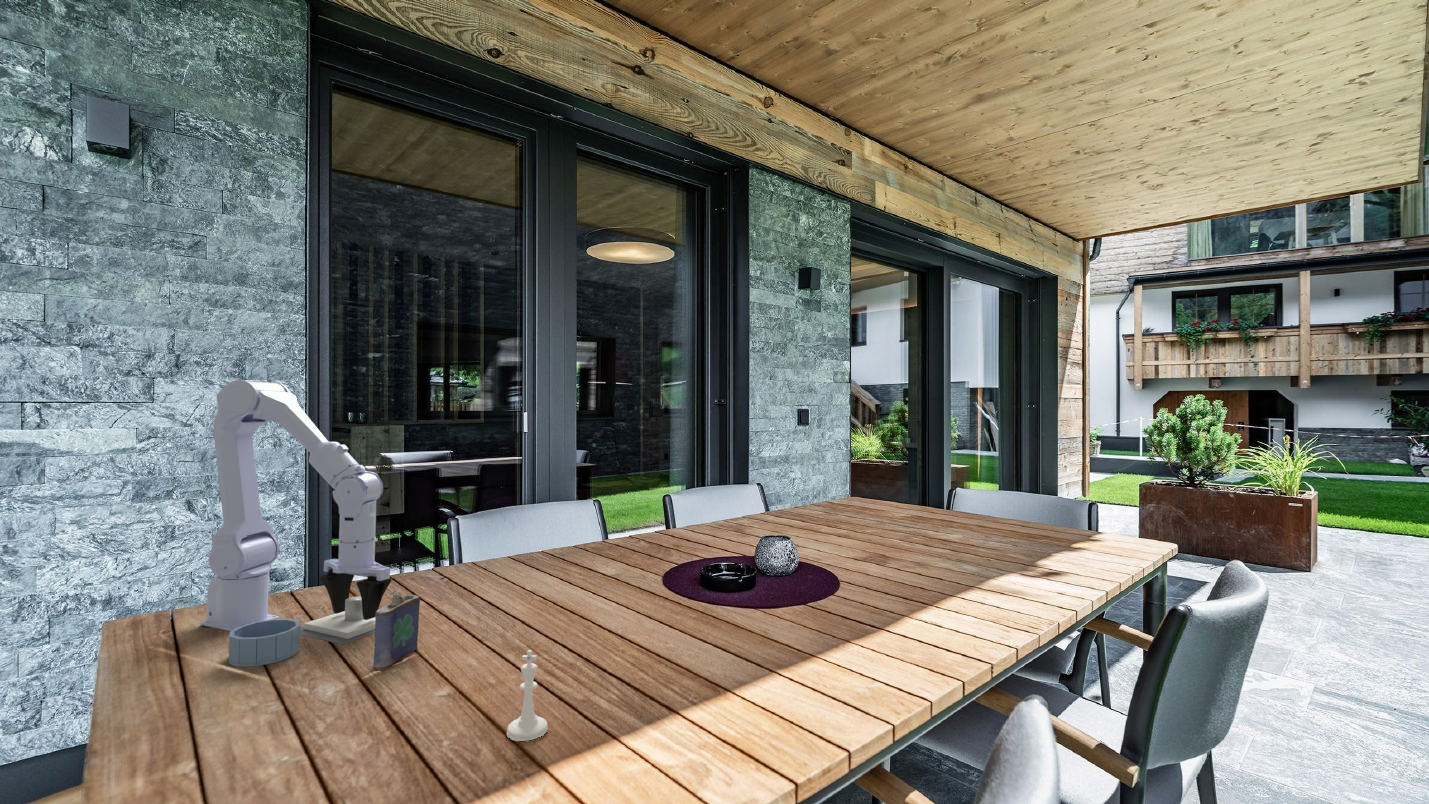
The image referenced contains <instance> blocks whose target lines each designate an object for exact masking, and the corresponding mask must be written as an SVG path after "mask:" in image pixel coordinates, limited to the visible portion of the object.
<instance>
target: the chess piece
mask: <svg viewBox="0 0 1429 804" xmlns="http://www.w3.org/2000/svg"><path fill="white" fill-rule="evenodd" d="M532 652H533V650H531V649H528V650H527V654H523V655H522V656H521V657H522V658H521V660H522V661H526V662H527V663H524V664H523V665H521V667H520V671H521V674H522V679H523V681H524V682H522V683H520V686H519V689H520V690H521V691H524V694H523V703H522V708H521V714H520V716H518V718H516V719H514V720H512V721H511V722H510V723H509V724H508V726H507V731H506V736H507V738H508V739H509V738H510V739H509V740H512V741H514V742H519V741H525V740H532V739H535V738H538V737H540V738H542V737H544V736H545V735H546V734H547V733H548V731H547V730H549V726H548V721H547V720H546V719H545V718H543V717H541V716H538V715H537V714H536V713H535V712H536V711H535V705H534V692H533V690H535V689H537V688H538V683H537V682H536V681H534V680H535V676H536V673H537V670H538V665H537V664H535V663H533V662H532V661H536V660H537V658H538V657H537V656H538V655H537V654H536V655H535V654H532ZM546 732H547V733H546ZM545 733H546V734H545ZM544 734H545V735H544ZM541 736H542V737H541ZM538 739H539V738H538ZM532 741H533V740H532Z"/></svg>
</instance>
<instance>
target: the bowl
mask: <svg viewBox="0 0 1429 804" xmlns="http://www.w3.org/2000/svg"><path fill="white" fill-rule="evenodd" d="M300 627H301V622H300V620H297V619H292V618H278V619H271V620H264V621H258V622H253V623H250V624H246V625H243V626H240V627H238V628H236V629H234V630H232V631H229V639H228V640H229V641H228V664H230V665H231V666H234V667H241V668H242V667H259V666H265V665H269V664H275V663H278V662H281V661H284V660H286V659H289V658H292V657H293V656H294V655H296V654H297V653H298V652H299V650H300V649H301V648H300V646H301V635H300Z"/></svg>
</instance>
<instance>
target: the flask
mask: <svg viewBox="0 0 1429 804" xmlns="http://www.w3.org/2000/svg"><path fill="white" fill-rule="evenodd" d="M391 595H392V597H391V599H390V601H391V602H390V603H387V604H385V605H384V606H382V607H381V608H379V610H377V611H376V613H375V633H374V650H373V653H374V655H373V669H376V670H375V672H377V671H381V672H384V670H389V669H391V668H393V667H394V665H396V664H399V663H401V662H403V660H404V659H405V658H404V657H405V656H406V655H408V654H409V655H410V654H411V653H413V652H415V651H416V650H418V640H419V639H418V637H419V620H420V604H421V602H420V601H421V600H420V595H415V594H406V595H405V594H404V596H402V595H403V592H401V591H397V590H393V591H391V592H390V593H389V595H388V596H391Z"/></svg>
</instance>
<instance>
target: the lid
mask: <svg viewBox="0 0 1429 804" xmlns="http://www.w3.org/2000/svg"><path fill="white" fill-rule="evenodd" d="M379 609H380V608H379ZM379 609H378V610H379ZM303 626H304V629H307V630H311V631H315V632H320V633H324V634H328V635H333V636H337V637H342V638H346V639H349V638H352V637H355V636H357V635H360V634H363V633H366V632H368V631H371V630H374V629H375V617H374V618H371V619H368V620H364V619H363V614H362V599H361V595H360V596H352V597H349V598H347V599H346V600H345V611H344V612H341V613H337V614H335V613H333V614H330V615H327V616H323V617H321V618H317V619H313V620H310V621H308V622H304V623H303Z"/></svg>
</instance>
